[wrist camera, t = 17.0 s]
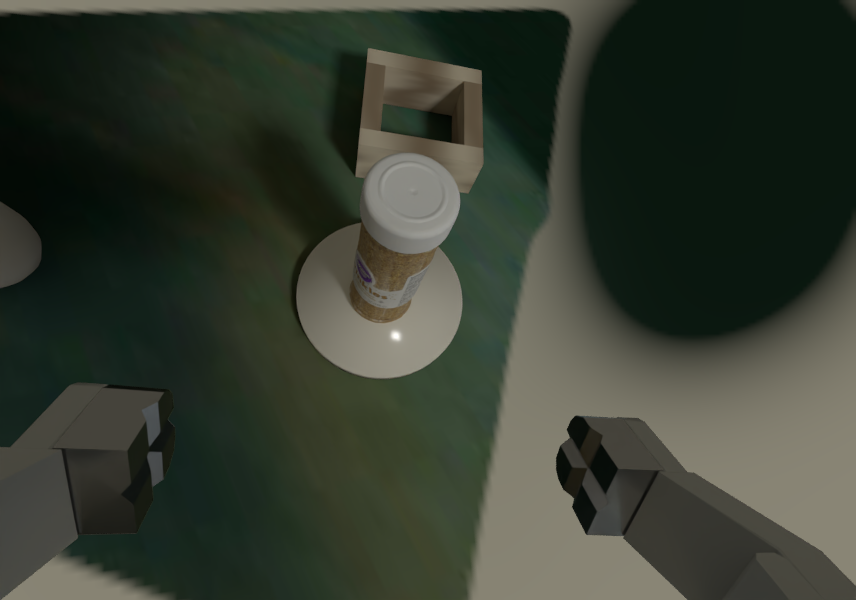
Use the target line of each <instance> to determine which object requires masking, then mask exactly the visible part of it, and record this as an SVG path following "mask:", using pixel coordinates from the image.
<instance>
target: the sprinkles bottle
mask: <svg viewBox="0 0 856 600" xmlns="http://www.w3.org/2000/svg"><path fill="white" fill-rule="evenodd" d="M459 208H460V194H459V190H458V187H457V184H456V182H455V180H454V178H453V177H452V175H451V174H450V173H449V172H448V171H447V170H446V169H445V168H444V167H443V166H442V165H441V164H439V163H438V162H437V161H435V160H433V159H431V158H429V157H426V156H424V155H421V154H416V153H396V154H392V155H389V156H386V157H384V158H382V159H381V160H379V161H378V162H377V163H375V164H374V165H373V166H372V167H371V169H370V170H369V171H368V173H367V175H366V177H365V179H364V183H363V187H362V192H361V200H360V215H361V219H362V221H361V228H360V236H359V241H358V246H357V249H356V254H355V261H354V268H353V280H352V282H351V284H350V293H349V294H350V299H351V303H352V306H353V307H354V309H355V311H356V312H357V313H358V314H359V315H360V316H361V317H363V318H365V319H367V320H369V321H372V322H374V323H388V322H392V321H395V320H397V319H399V318H401V317H402V316H403V315H404V314H405V313H406V312H407V310H408V309H409V307H410V304H411V301H412V297H413V296H414V295H415V293H416V291H417V289H418V287H419V285H420V283H421V281H422V279H423V277H424V275H425V273H426V271H427V269H428V267H429V265H430V263H431V262H432V260H433V257H434V254H435V251H436V249H437V248H438V246H439V245H440V244H441V243H442V242H443V241H444V240H445V238H446V237H447V236H448V234H449V232H450V230H451V228H452V226H453V224H454V222H455V220H456V218H457V215H458V212H459Z"/></svg>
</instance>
